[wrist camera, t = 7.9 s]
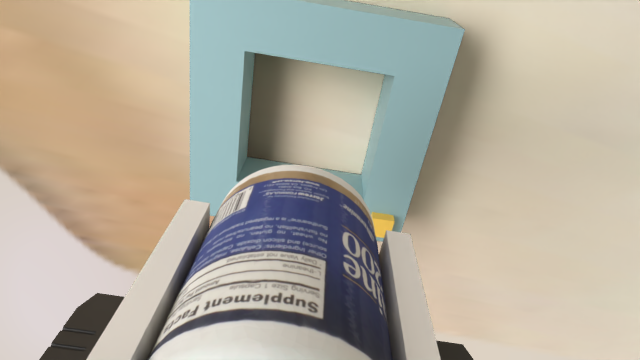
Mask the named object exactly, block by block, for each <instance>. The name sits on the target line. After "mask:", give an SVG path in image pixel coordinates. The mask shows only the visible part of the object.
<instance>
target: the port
mask: <svg viewBox="0 0 640 360" xmlns="http://www.w3.org/2000/svg"><path fill="white" fill-rule="evenodd" d="M464 31H465V29H463V28H462V27H461V26H459V25H458V24H456V23H455V22H454V21H452V20H451V19H449V18H444V17H438V16H432V15H426V14H421V13H415V12H409V11H403V10H398V9H392V8H386V7H380V6H375V5H369V4H363V3H358V2H352V1H346V0H190V200H193V201H199V202H206V203H210V216H216V213H217V212H218V210H219V208H220V206H221V204H222V202H223V200H224V199H225V197H226V196H227V194H228V193H229V192H230V190H231V189H232V188H233V187H234V186H235V185H237V184H238V183H239V182H240V181H241V180H243V179H244V178H245V177H247V176H249V175H251V174H253V173H255V172H257V171H259V170H262V169H266V168H269V167H273V166H279V165H295V164H290V163H283V162H277V161H271V160H264V159H258V158H251V157H247V150H248V137H249V124H250V111H251V98H252V84H253V71H254V58H255V53H260V54H266V55H272V56H278V57H284V58H290V59H295V60H301V61H307V62H313V63H319V64H325V65H331V66H337V67H343V68H349V69H355V70H361V71H367V72H373V73H379V74H385V76H384V80H383V85H382V89H381V93H380V97H379V102H378V106H377V110H376V114H375V119H374V123H373V127H372V131H371V136H370V140H369V144H368V148H367V153H366V157H365V161H364V165H363V170H362V174H361V175H360V174H353V173H347V172H341V171H334V170H328V169H322V168H319V169H322V170H324V171H327V172H329V173H331V174H333V175H335V176H337V177H339V178H341V179H343V180H344V181H345V182H347V183H348V184H349V185H351V186H352V187H353V188H354V189H355V190H356V191H357V192H358V193H359V194H360V195H361V197H362V198H363V200H364V202H365V204H366V205H367V207H368V209H369V211H370V213H371V216H372V220H373V224H374V229H375V235H376V241H383V240H384V236H385V233H386V230H388V231H395V232H401V230H402V227H403V224H404V221H405V218H406V214H407V211H408V208H409V205H410V202H411V199H412V195H413V192H414V189H415V186H416V183H417V180H418V176H419V173H420V170H421V167H422V164H423V161H424V157H425V154H426V151H427V148H428V145H429V142H430V138H431V135H432V132H433V129H434V126H435V123H436V119H437V116H438V113H439V110H440V107H441V104H442V100H443V97H444V94H445V91H446V88H447V85H448V81H449V78H450V75H451V72H452V69H453V66H454V62H455V59H456V56H457V53H458V50H459V47H460V43H461V40H462V37H463V34H464Z"/></svg>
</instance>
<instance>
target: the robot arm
mask: <svg viewBox="0 0 640 360" xmlns="http://www.w3.org/2000/svg"><path fill="white" fill-rule="evenodd" d="M209 218H210V203H206V202H199V201H193V200H186V199H185V200H184V201H183V203H182V205H181V206H180V208H179V210H178V211H177V213H176V214H175V216H174V218H173V219H172V221H171V223H170V224H169V226H168V227H167V229H166V231H165V232H164V234H163V236H162V237H161V239H160V241H159V242H158V244H157V245H156V247H155V249H154V250H153V252H152V254H151V255H150V257H149V258H148V260H147V262H146V263H145V265H144V267H143V268H142V270H141V271H140V273H139V275H138V276H137V278H136V280H135V281H134V283H133V285H132V286H131V288H130V289H129V291H128V293H127V294H126V296H125V297H120V296H114V295H107V294H100V293H97V294H95V295H94V296H93V297H91V298H90V299H89V300H87V301H86V302H85V303H83V304H82V305H81V306H79V307H78V308H77V309H76V310H75V311H74V313H73V314H72V316H71V317H70V318H69V320H68V321H67V322H66V324H65V325H64V327H63V330H62V331H60V332H59V333H58V335H57V336H56V338H55V339H54V340H53V342H52V345H51V347H48V348H47V350H46V351H45V353H44V354H43V355H42V357H41V358H40V360H148V358H149V356H150V354H151V352H152V350H153V348H154V345H155V343H156V341H157V339H158V337H159V335H160V333H161V331H162V329H163V326H164V324H165V322H166V320H167V318H168V315H169V313H170V311H171V309H172V307H173V305H174V302H175V300H176V298H177V296H178V294H179V292H180V290H181V287H182V285H183V283H184V281H185V279H186V277H187V275H188V272H189V270H190V268H191V266H192V264H193V262H194V260H195V257H196V255H197V253H198V251H199V249H200V247H201V245H202V243H203V240H204V238H205V236H206V234H207V232H208V230H209ZM379 261H380V268H381V274H382V281H383V288H384V296H385V304H386V313H387V320H388V331H389V337H390V347H391V352H392V360H473V358H472V357H471V355H470V354H469V353H468V351H467V350H466V348H465V347H464V346H463V345H462V344H455V343H449V342H441V341H436V338H435V334H434V330H433V325H432V321H431V317H430V313H429V309H428V305H427V301H426V296H425V292H424V288H423V284H422V280H421V276H420V272H419V267H418V263H417V259H416V255H415V251H414V247H413V243H412V238H411V234H408V233H401V232H395V231H388V230H386V233H385V236H384V240H383V243H382V247H381V250H380V253H379Z"/></svg>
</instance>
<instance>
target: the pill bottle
mask: <svg viewBox="0 0 640 360" xmlns="http://www.w3.org/2000/svg"><path fill="white" fill-rule="evenodd" d="M148 360H392V352H391V347H390V337H389V331H388V320H387V313H386V304H385V296H384V288H383V281H382V274H381V268H380V261H379V254H378V246H377V241H376V235H375V229H374V224H373V220H372V216H371V213H370V211H369V209H368V207H367V205H366V204H365V202H364V200H363V198H362V197H361V195H360V194H359V193H358V192H357V191H356V190H355V189H354V188H353V187H352V186H351V185H349V184H348V183H347V182H345V181H344V180H343V179H341V178H339V177H337V176H335V175H333V174H331V173H329V172H327V171H324V170H322V169H319V168H315V167H311V166H305V165H296V164H295V165H279V166H273V167H269V168H266V169H262V170H259V171H257V172H255V173H253V174H251V175H249V176H247V177H245V178H244V179H243V180H241V181H240V182H239V183H238V184H237V185H235V186H234V187H233V188H232V189H231V190H230V192H229V193H228V194H227V196H226V197H225V199H224V200H223V202H222V204H221V206H220V208H219V210H218V212H217V213H216V216H215V217H214V219H213V221H212V223H211V226H210V228H209V230H208V232H207V234H206V236H205V238H204V240H203V243H202V245H201V247H200V249H199V251H198V253H197V255H196V257H195V260H194V262H193V264H192V266H191V268H190V270H189V272H188V275H187V277H186V279H185V281H184V283H183V285H182V287H181V290H180V292H179V294H178V296H177V298H176V300H175V302H174V305H173V307H172V309H171V311H170V313H169V315H168V318H167V320H166V322H165V324H164V326H163V329H162V331H161V333H160V335H159V337H158V339H157V341H156V343H155V345H154V348H153V350H152V352H151V354H150V356H149V358H148Z"/></svg>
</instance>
